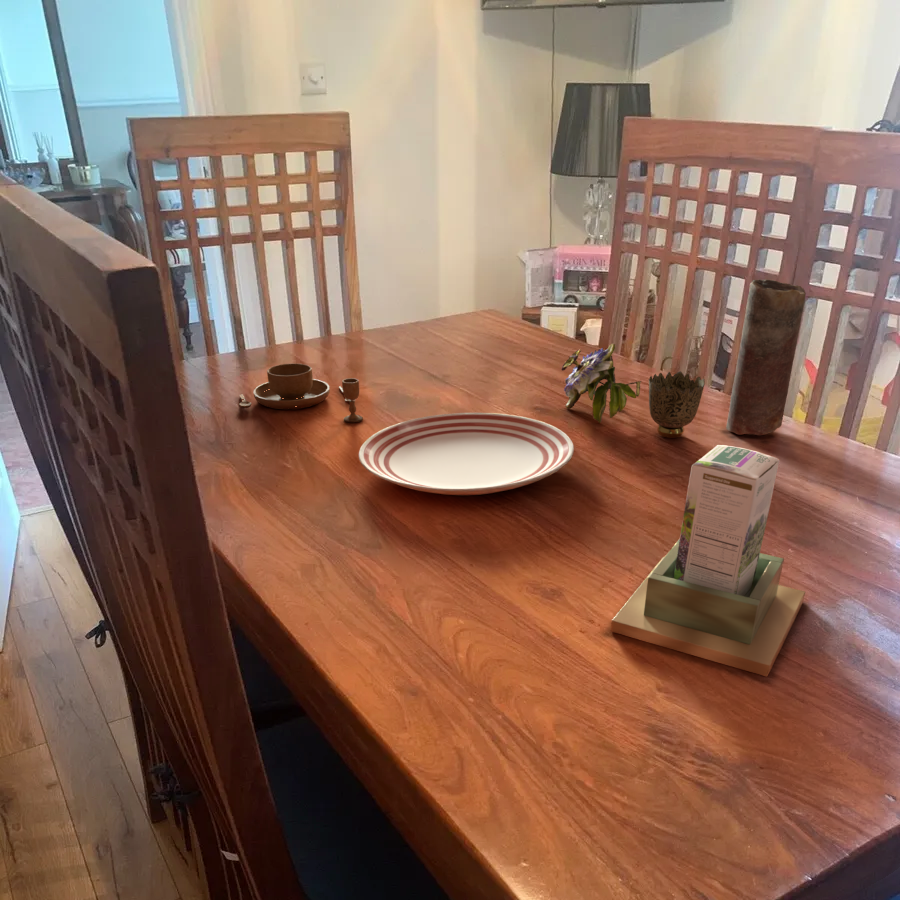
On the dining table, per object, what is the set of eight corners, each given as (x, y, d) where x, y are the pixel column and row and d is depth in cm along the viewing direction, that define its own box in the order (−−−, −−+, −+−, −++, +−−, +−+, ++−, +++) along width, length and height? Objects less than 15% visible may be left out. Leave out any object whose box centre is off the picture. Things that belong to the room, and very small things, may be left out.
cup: (708, 437, 120) (716, 380, 116) (671, 448, 117) (678, 390, 113) (668, 422, 126) (675, 368, 122) (632, 433, 122) (637, 377, 118)
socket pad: (803, 601, 82) (814, 554, 80) (767, 677, 72) (778, 624, 70) (661, 566, 89) (667, 521, 86) (610, 631, 79) (615, 582, 76)
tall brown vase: (743, 418, 127) (767, 275, 117) (790, 429, 123) (819, 282, 112) (715, 431, 123) (738, 283, 112) (763, 443, 118) (791, 291, 108)
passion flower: (569, 442, 134) (553, 368, 135) (638, 427, 134) (622, 353, 135) (575, 423, 123) (557, 343, 124) (650, 407, 123) (632, 326, 123)
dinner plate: (321, 494, 105) (319, 468, 104) (411, 422, 127) (411, 400, 126) (537, 528, 97) (538, 501, 95) (594, 445, 118) (596, 421, 117)
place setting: (340, 383, 144) (337, 347, 141) (368, 421, 128) (365, 381, 125) (234, 394, 140) (229, 358, 137) (249, 435, 123) (243, 395, 120)
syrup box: (692, 583, 83) (714, 441, 76) (752, 601, 80) (781, 455, 73) (667, 609, 79) (688, 461, 72) (730, 629, 76) (758, 477, 69)
